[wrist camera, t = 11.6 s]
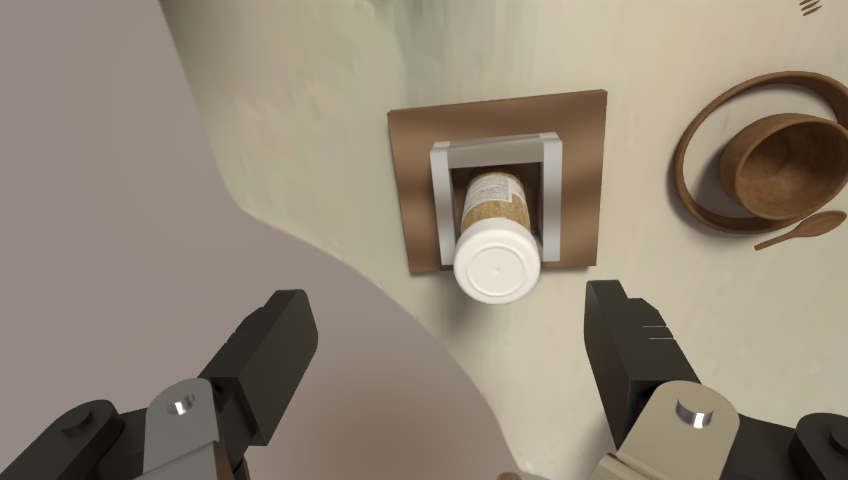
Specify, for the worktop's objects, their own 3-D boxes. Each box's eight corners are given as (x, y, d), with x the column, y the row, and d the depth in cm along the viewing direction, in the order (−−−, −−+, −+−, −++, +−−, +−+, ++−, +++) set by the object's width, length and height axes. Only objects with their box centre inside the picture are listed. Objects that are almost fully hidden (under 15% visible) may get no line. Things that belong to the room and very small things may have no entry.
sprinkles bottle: (524, 212, 34) (542, 306, 22) (468, 216, 35) (457, 310, 23) (521, 156, 33) (540, 228, 21) (462, 163, 33) (447, 235, 21)
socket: (391, 110, 34) (376, 121, 29) (602, 89, 31) (621, 98, 27) (413, 263, 40) (403, 292, 35) (592, 257, 37) (606, 288, 33)
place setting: (626, 94, 32) (654, 107, 26) (965, -103, 25) (1094, -140, 19) (711, 272, 37) (748, 311, 31) (1011, 149, 30) (1123, 174, 24)
